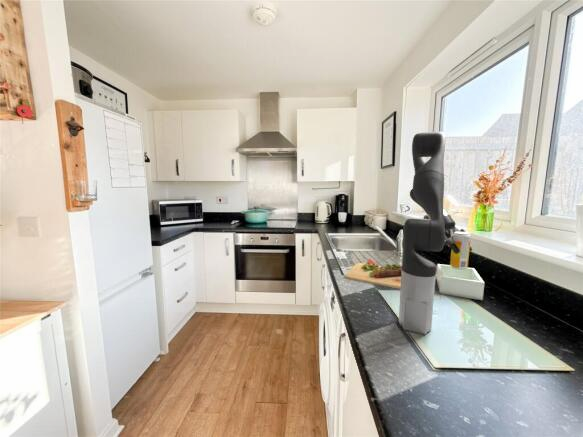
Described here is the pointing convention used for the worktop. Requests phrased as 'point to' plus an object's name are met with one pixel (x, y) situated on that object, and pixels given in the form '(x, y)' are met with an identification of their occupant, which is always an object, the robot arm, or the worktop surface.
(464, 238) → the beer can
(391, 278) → the cutting board
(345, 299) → the worktop surface
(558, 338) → the worktop surface
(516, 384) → the worktop surface
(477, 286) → the bin
